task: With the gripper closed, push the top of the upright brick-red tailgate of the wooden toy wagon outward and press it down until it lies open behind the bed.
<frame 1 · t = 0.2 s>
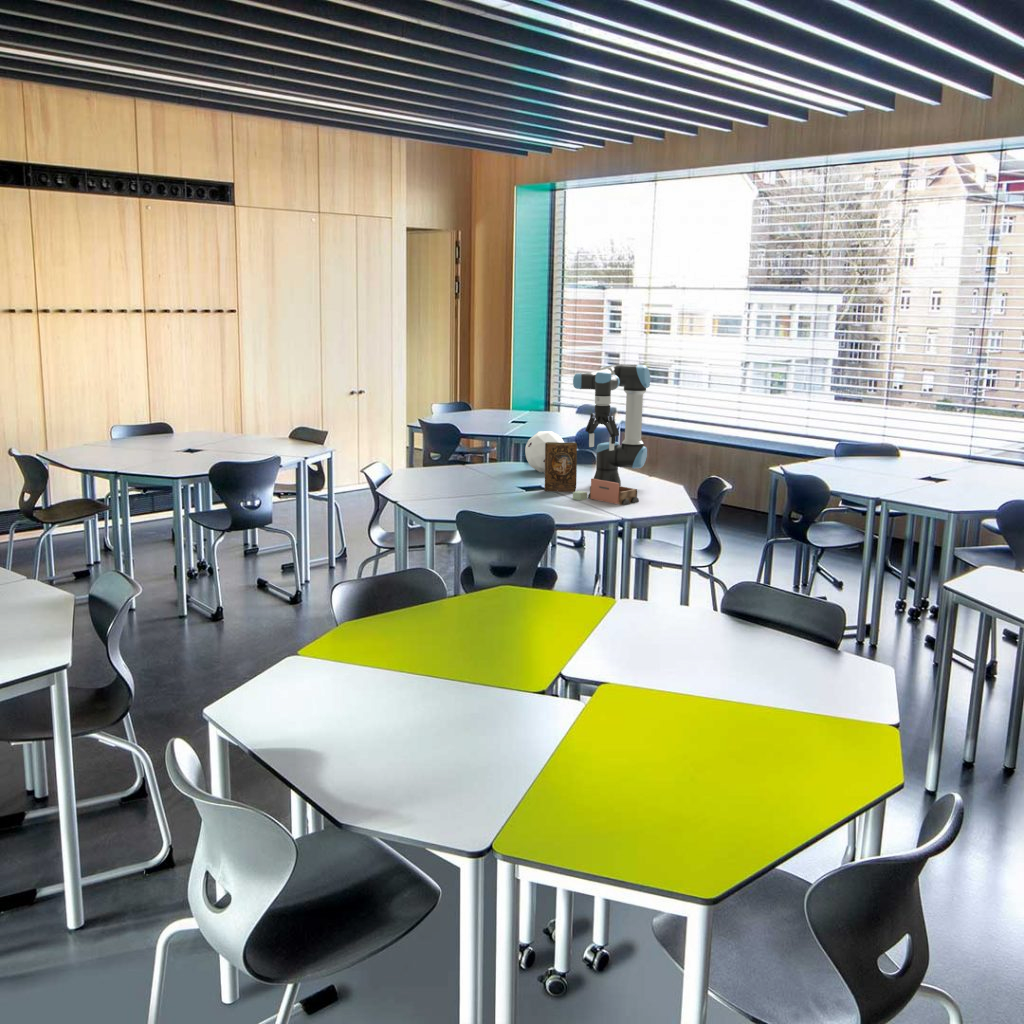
hand: (601, 448, 477), 27 cm above the table, fingers open, 13 cm apart
geometric sculpture: (545, 471, 571), on the table
tailgate: (604, 491, 480), point 7 cm above the table, hinge at 0.0°
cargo: (579, 501, 488), on the table
wooden toy wagon: (613, 502, 486), on the table
book: (560, 491, 515), on the table
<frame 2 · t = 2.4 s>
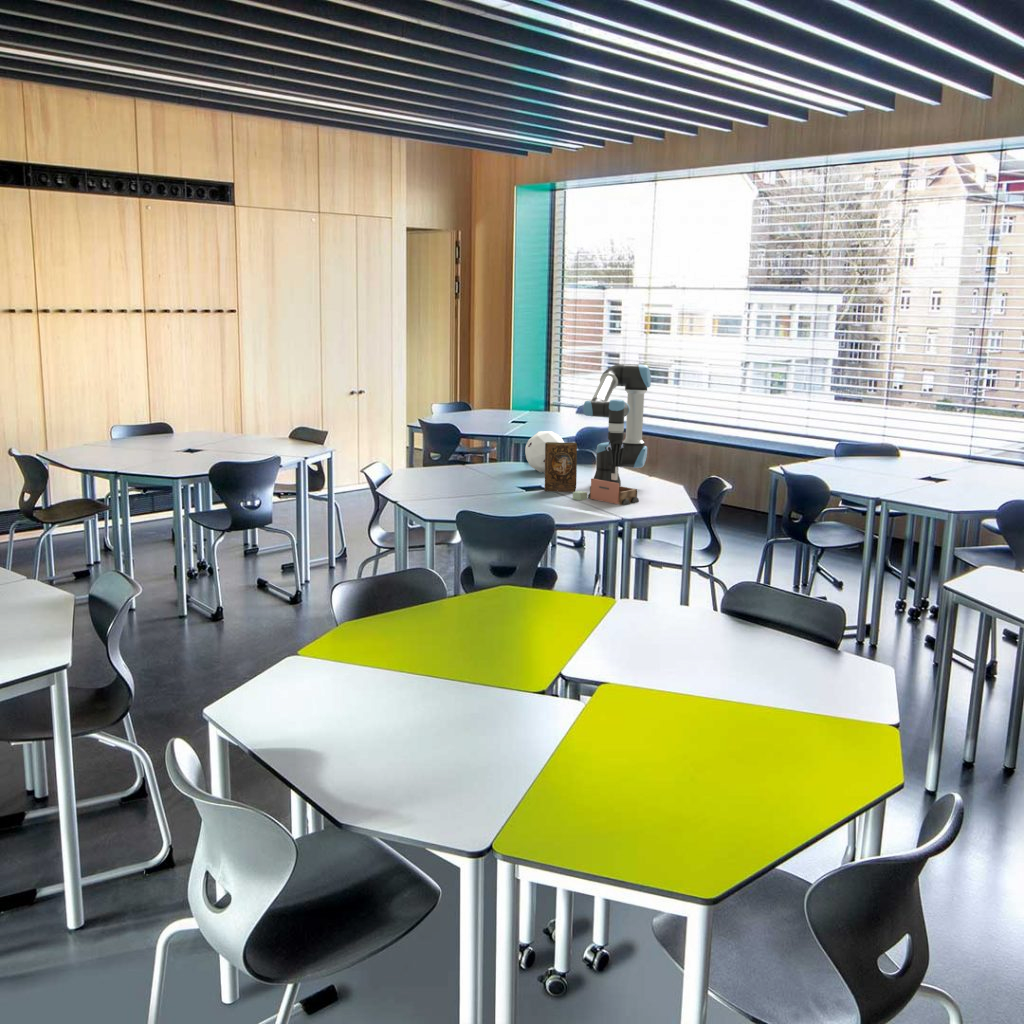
hand: (614, 479, 484), 12 cm above the table, fingers closed
nothing on the table moved.
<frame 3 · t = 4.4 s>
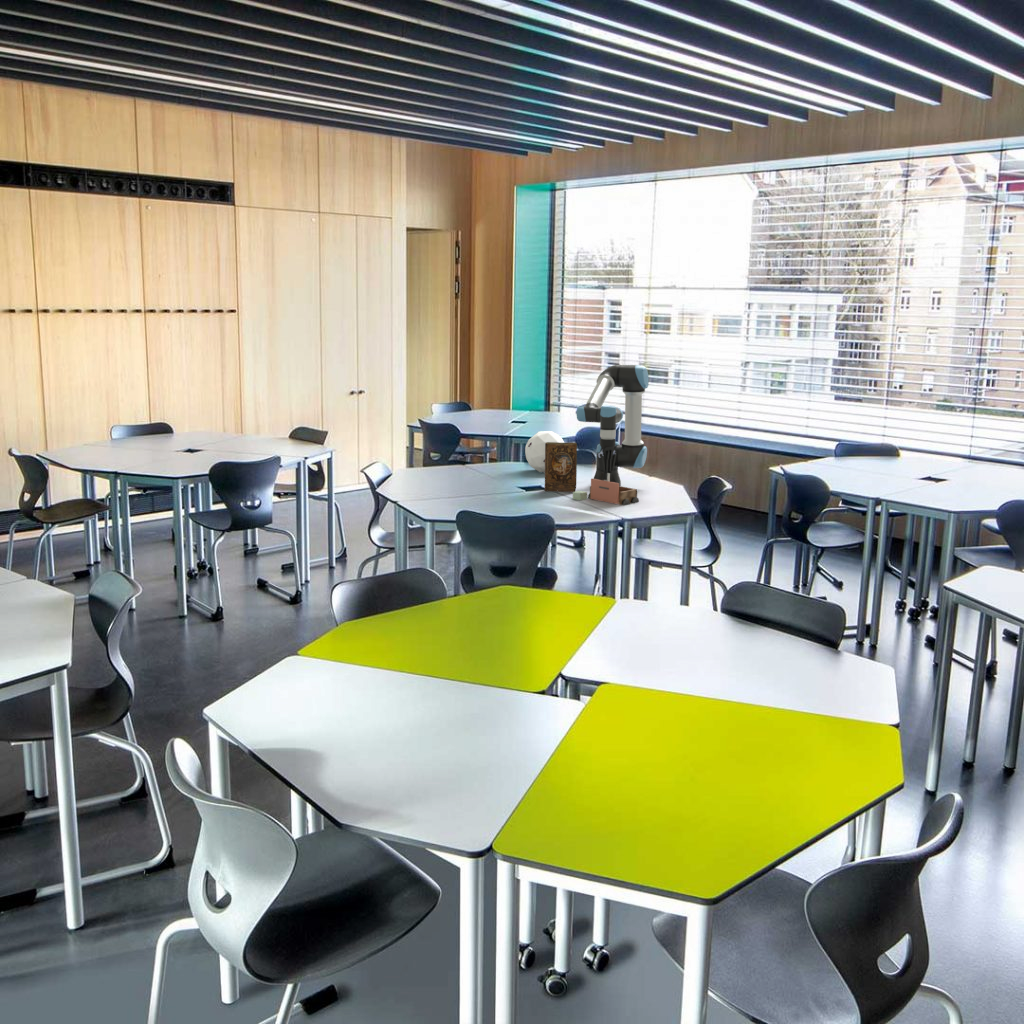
hand: (606, 486, 480), 9 cm above the table, fingers closed
tailgate: (604, 491, 480), point 7 cm above the table, hinge at 0.5°, touching gripper
everything else where it was.
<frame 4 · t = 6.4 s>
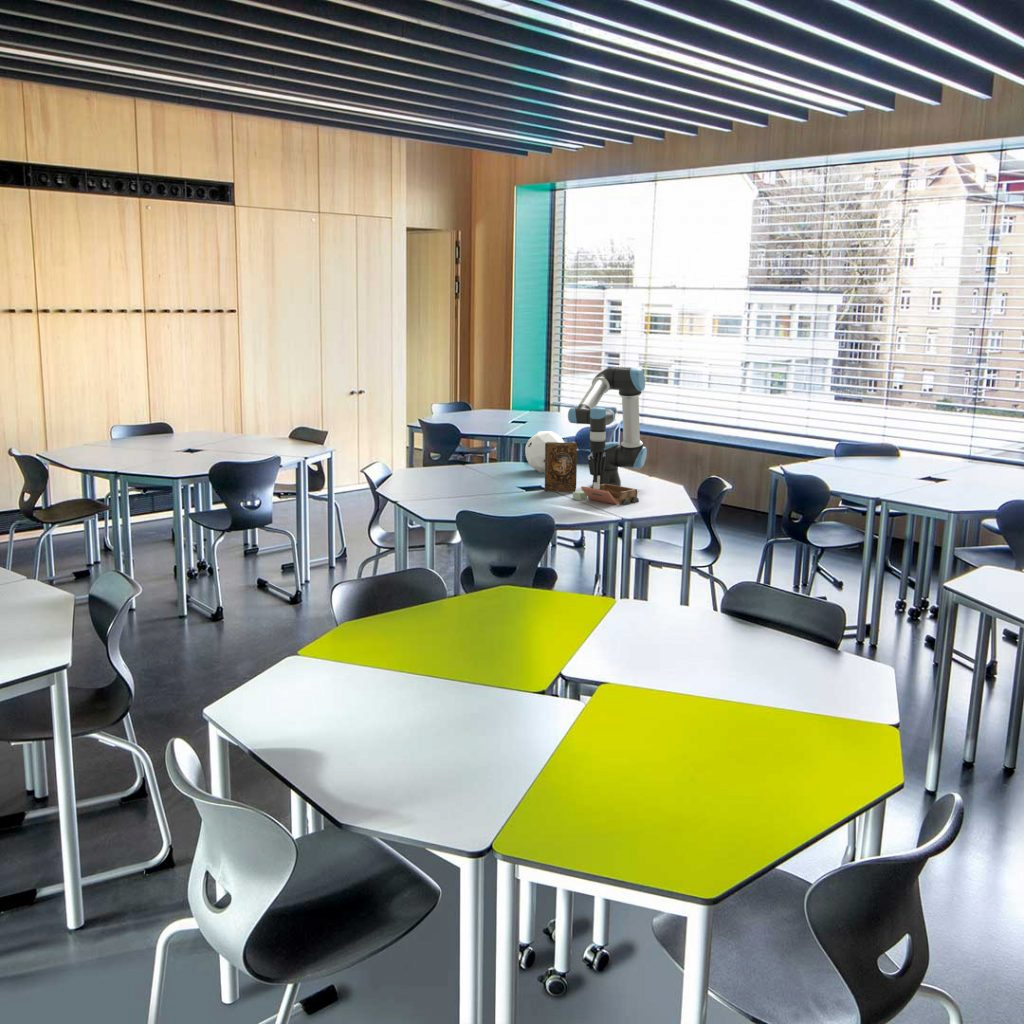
hand: (596, 488, 475), 9 cm above the table, fingers closed
tailgate: (599, 495, 478), point 5 cm above the table, hinge at 46.9°, touching gripper
everything else where it was.
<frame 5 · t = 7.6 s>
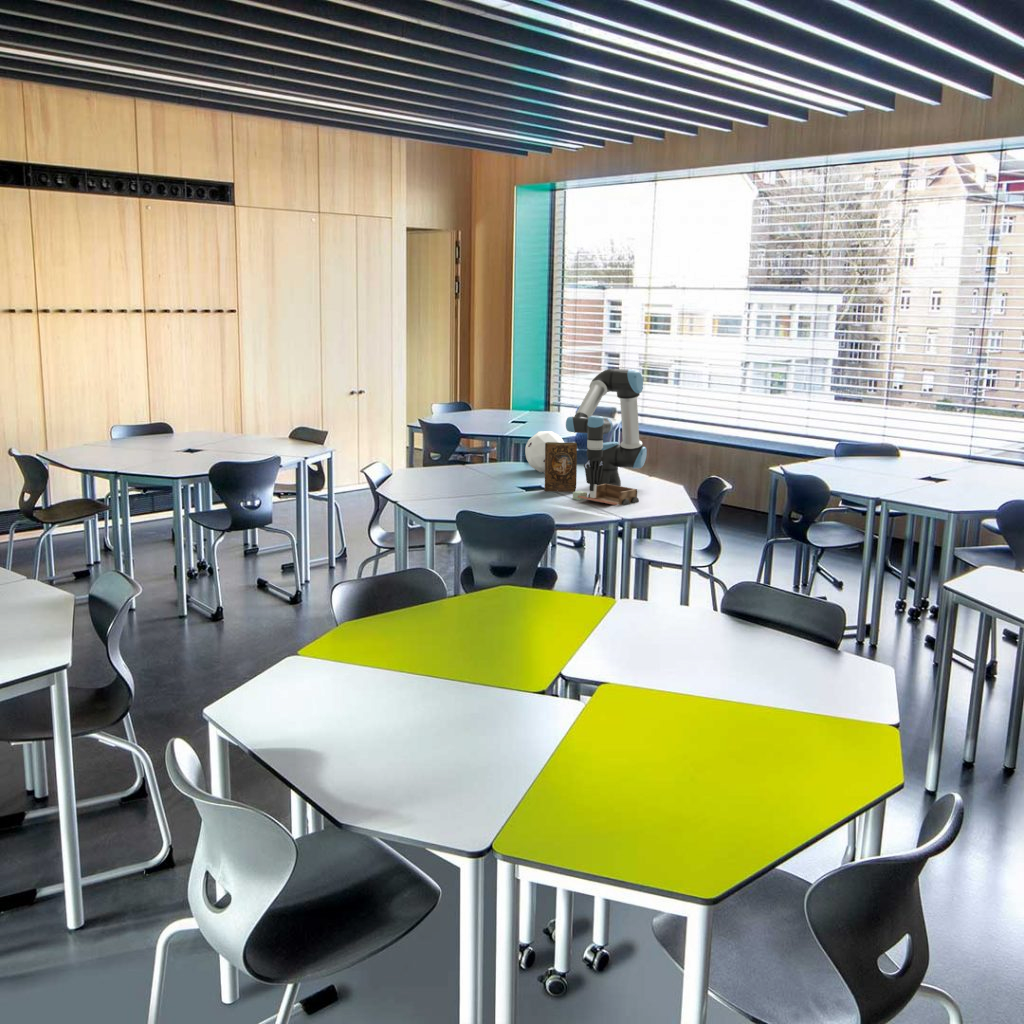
hand: (593, 497, 475), 5 cm above the table, fingers closed
tailgate: (597, 500, 477), point 3 cm above the table, hinge at 74.5°, touching gripper
everything else where it was.
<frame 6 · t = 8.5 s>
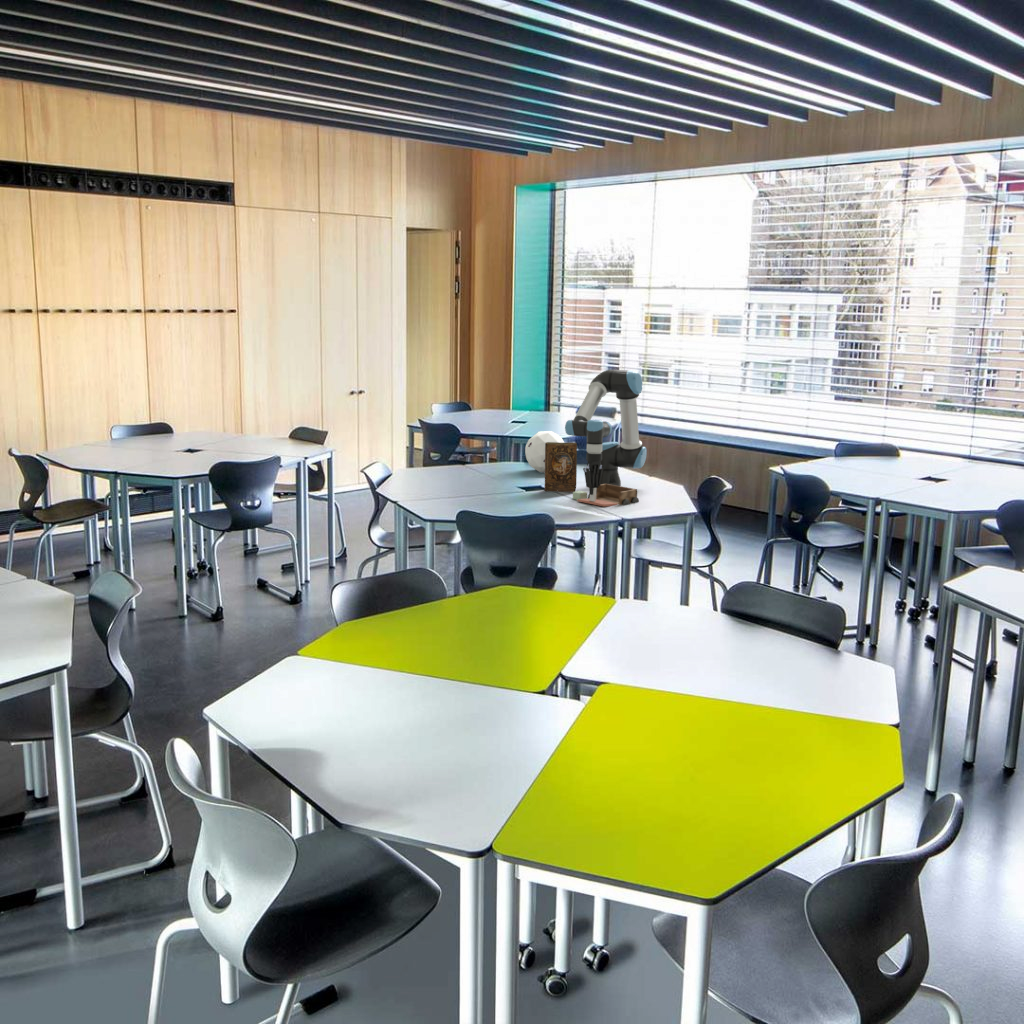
hand: (592, 500, 475), 3 cm above the table, fingers closed
tailgate: (597, 502, 478), point 2 cm above the table, hinge at 84.7°, touching gripper
everything else where it was.
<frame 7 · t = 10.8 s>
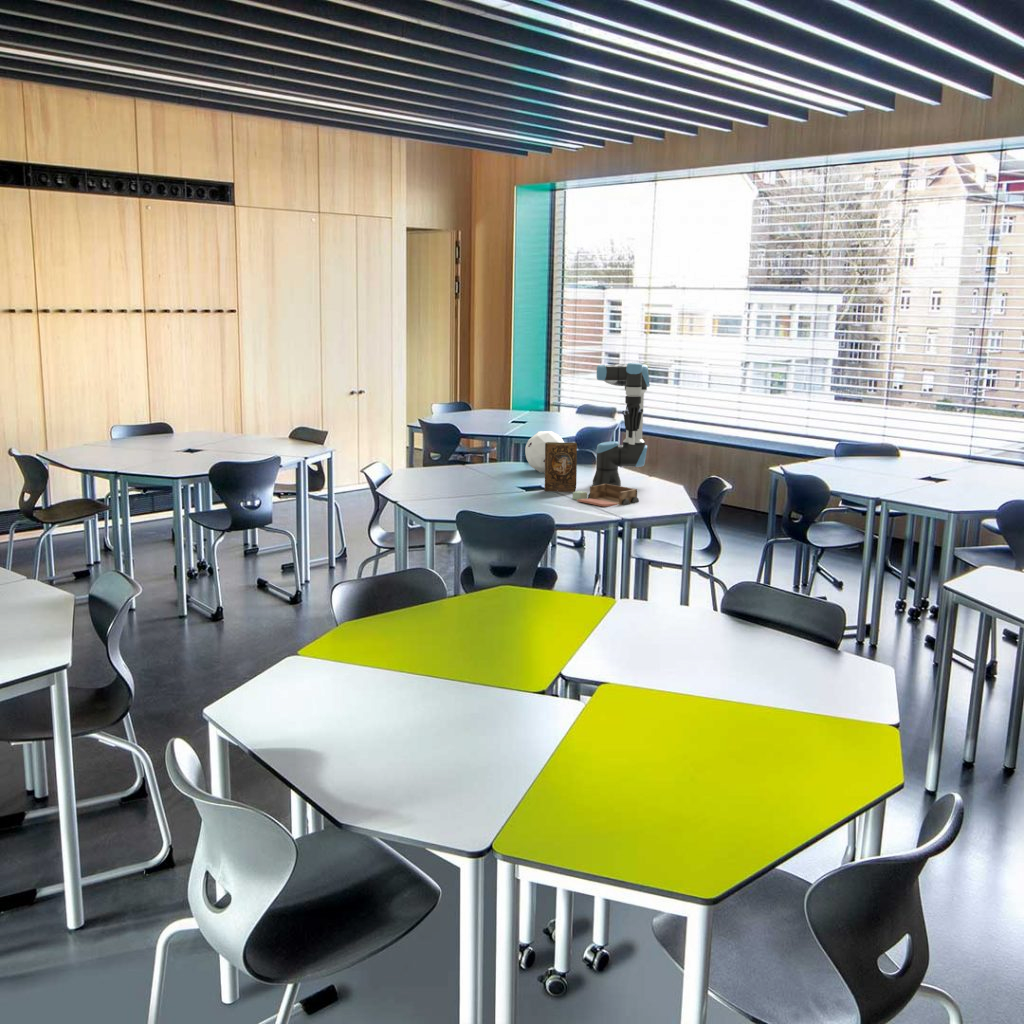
hand: (631, 444, 479), 29 cm above the table, fingers closed
tailgate: (597, 502, 478), point 2 cm above the table, hinge at 84.7°
everything else where it was.
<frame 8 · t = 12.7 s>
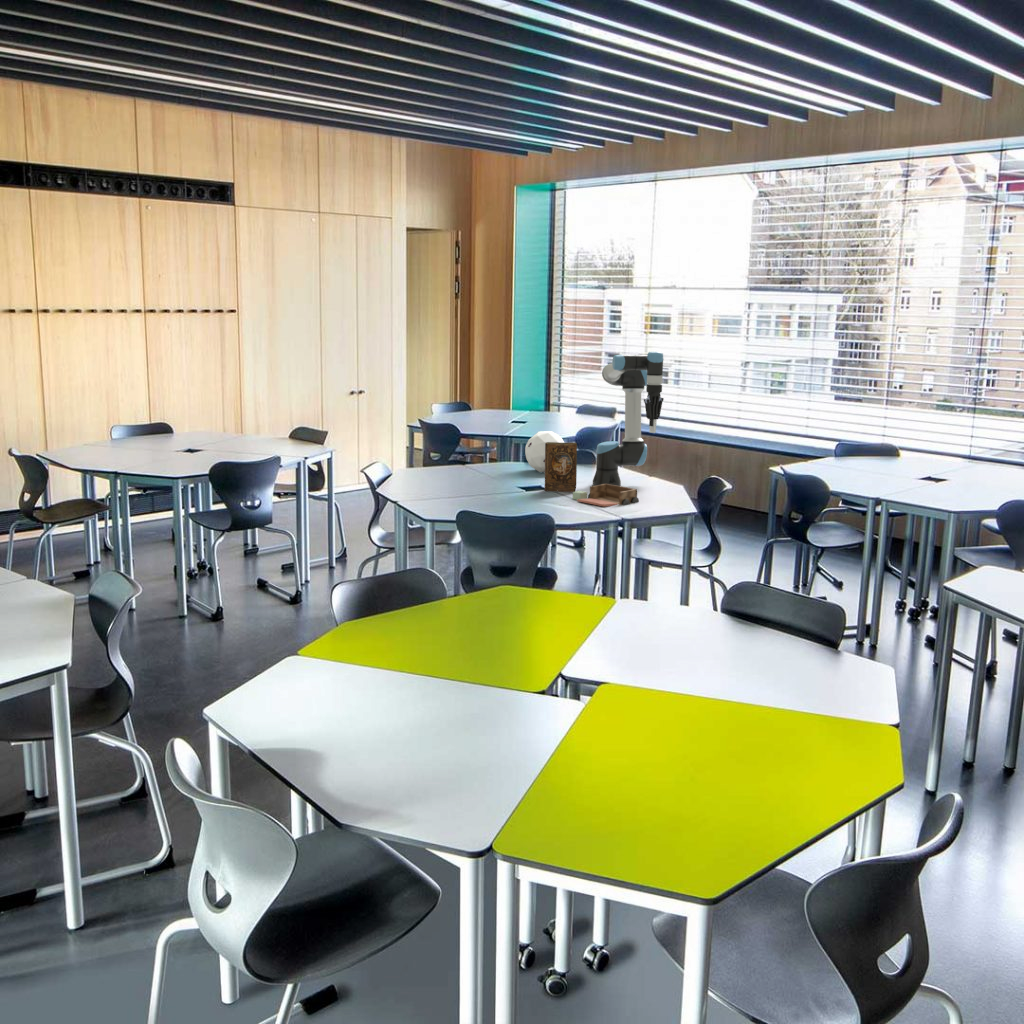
hand: (652, 432, 483), 34 cm above the table, fingers closed
nothing on the table moved.
at the end: tailgate at +85° (first picture: +0°); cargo moved 0.1 cm from its start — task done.
